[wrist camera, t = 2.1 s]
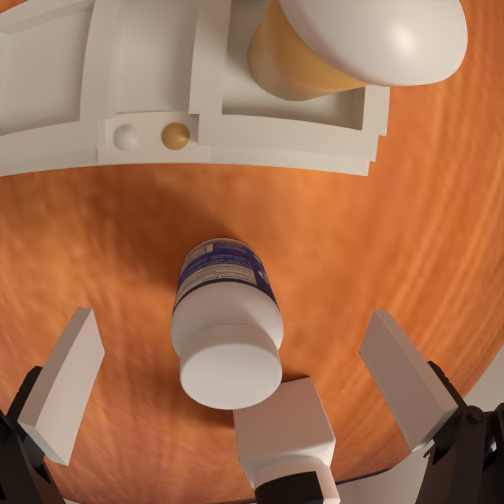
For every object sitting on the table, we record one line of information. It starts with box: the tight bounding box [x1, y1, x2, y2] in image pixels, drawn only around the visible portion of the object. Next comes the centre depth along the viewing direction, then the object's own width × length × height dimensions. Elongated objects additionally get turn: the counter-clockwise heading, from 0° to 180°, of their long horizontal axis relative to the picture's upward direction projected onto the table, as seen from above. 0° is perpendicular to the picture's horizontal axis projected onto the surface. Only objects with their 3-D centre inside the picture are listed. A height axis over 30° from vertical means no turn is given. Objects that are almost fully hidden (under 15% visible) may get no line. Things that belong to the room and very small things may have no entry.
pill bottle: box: [170, 238, 284, 409], centre depth 14 cm, size 5×5×9 cm
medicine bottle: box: [233, 377, 340, 504], centre depth 19 cm, size 7×7×12 cm
